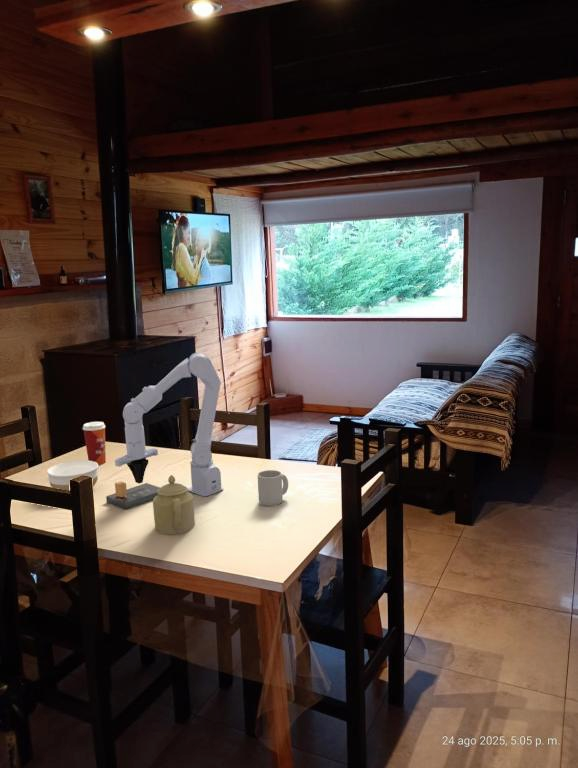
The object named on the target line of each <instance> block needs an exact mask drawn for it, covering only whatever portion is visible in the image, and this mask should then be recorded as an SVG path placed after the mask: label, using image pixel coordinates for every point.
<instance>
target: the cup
mask: <svg viewBox="0 0 578 768" xmlns="http://www.w3.org/2000/svg"><path fill="white" fill-rule="evenodd" d="M288 489H289V480H288V478H287V476H286V475H285V474H283V473H282V472H281V471H280V470H277V469H267V470H266V469H265V470H262V471H260V472H258V473H257V490H258V494H257V495H258V502H259V505H261V506H265V507H274V506H275V505H276V506H278V504H279V505H281V504H282V503H281V502H283V496H284V495H285V494H286V493H287V492H288ZM280 503H281V504H280ZM276 506H275V507H276Z"/></svg>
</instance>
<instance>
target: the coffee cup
mask: <svg viewBox="0 0 578 768" xmlns="http://www.w3.org/2000/svg"><path fill="white" fill-rule="evenodd" d="M81 429H82V430H83V435H84V442H85V447H86V453H87V461H93V462H96V463H97V464H98V466H101V465H104V464H106V462H107V461H106V459H107V456H106V424H105V423H104V421H90V422H86V423H84V424H83V426H82V428H81Z"/></svg>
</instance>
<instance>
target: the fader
mask: <svg viewBox="0 0 578 768" xmlns="http://www.w3.org/2000/svg"><path fill="white" fill-rule="evenodd" d="M114 490H115V493H116V496H119V497H124V496H127V483H126V482H124V481H121V480H120V481H116V482H114Z"/></svg>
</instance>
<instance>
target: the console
mask: <svg viewBox="0 0 578 768" xmlns="http://www.w3.org/2000/svg"><path fill="white" fill-rule="evenodd" d="M160 488H161V487H159V486H157V485H153V484H151V483H147V482H145V483H141V484H138V485H137V486H133V487H130V488H126V490H127V496H124V497H119V496H116V492H115V493H111V494H109V495H106V496H105V499H106V503H107V504H108V505H109V504H110V505H113V506H114V507H117V508H119V509H122V510H125V511H126V510H128V509H131V508H134V507H137V506H140V505H143V504H145V503H148V502H149V503H150V502H151V501H153V499H154V498H155V497H156V496H158V493H157V490H158V489H160Z"/></svg>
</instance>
